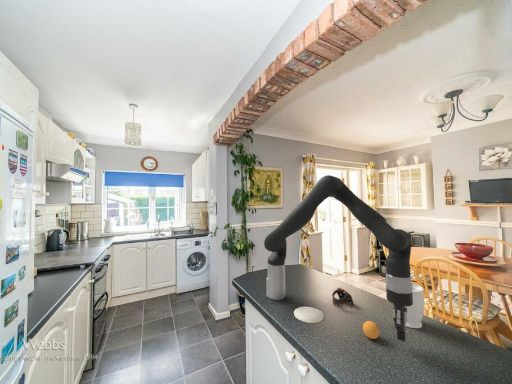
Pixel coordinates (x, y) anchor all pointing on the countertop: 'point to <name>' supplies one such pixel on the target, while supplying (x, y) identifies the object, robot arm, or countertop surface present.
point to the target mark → (308, 314)
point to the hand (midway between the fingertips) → (401, 339)
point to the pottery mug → (342, 297)
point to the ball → (371, 329)
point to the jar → (415, 308)
